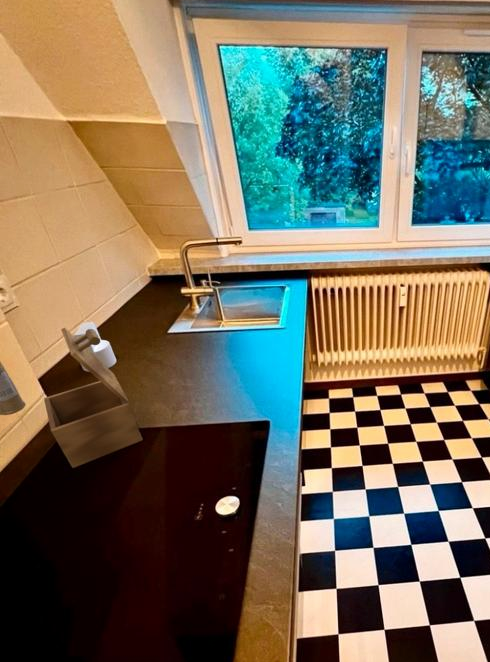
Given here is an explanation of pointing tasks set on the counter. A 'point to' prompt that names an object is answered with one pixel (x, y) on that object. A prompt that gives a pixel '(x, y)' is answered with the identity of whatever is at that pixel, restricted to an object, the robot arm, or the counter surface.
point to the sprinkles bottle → (9, 395)
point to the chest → (90, 422)
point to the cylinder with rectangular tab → (97, 346)
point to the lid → (93, 360)
